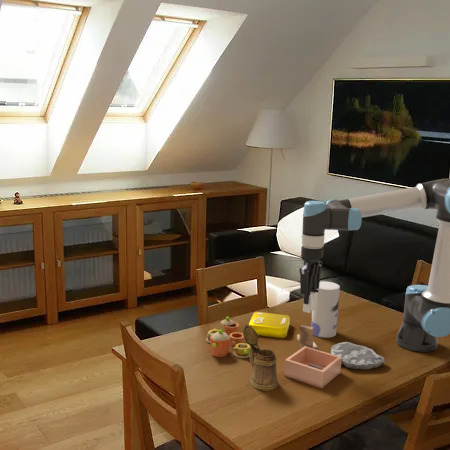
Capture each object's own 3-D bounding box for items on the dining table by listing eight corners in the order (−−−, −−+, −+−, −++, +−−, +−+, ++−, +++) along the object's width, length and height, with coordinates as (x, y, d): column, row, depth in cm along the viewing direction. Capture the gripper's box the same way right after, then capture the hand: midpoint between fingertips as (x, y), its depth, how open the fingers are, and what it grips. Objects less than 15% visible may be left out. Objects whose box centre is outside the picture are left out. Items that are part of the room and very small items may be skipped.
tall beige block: (312, 358, 207) (314, 327, 204) (309, 360, 205) (311, 329, 203) (300, 355, 210) (302, 324, 207) (298, 357, 208) (300, 326, 205)
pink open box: (340, 373, 197) (341, 357, 195) (322, 389, 186) (323, 372, 184) (303, 361, 205) (304, 346, 203) (283, 376, 193) (284, 359, 192)
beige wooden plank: (317, 352, 214) (317, 347, 213) (305, 352, 213) (305, 347, 213) (308, 338, 225) (308, 334, 225) (296, 339, 225) (297, 334, 224)
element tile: (285, 339, 224) (286, 327, 223) (247, 334, 227) (248, 323, 226) (289, 324, 239) (290, 314, 237) (253, 320, 241) (254, 310, 240)
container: (338, 338, 225) (341, 289, 221) (312, 337, 226) (315, 288, 221) (333, 328, 235) (337, 281, 231) (309, 327, 235) (312, 280, 231)
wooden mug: (252, 370, 197) (254, 321, 193) (283, 385, 188) (286, 333, 184) (234, 379, 190) (236, 328, 186) (266, 394, 181) (269, 340, 177)
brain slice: (317, 358, 208) (318, 350, 208) (347, 346, 219) (348, 339, 218) (362, 379, 194) (363, 371, 193) (391, 365, 205) (392, 357, 204)
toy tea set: (255, 360, 206) (256, 334, 204) (212, 362, 203) (213, 336, 200) (239, 330, 231) (240, 308, 228) (200, 332, 227) (201, 309, 225)
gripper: (312, 240, 207) (309, 302, 212) (292, 248, 194) (288, 314, 200) (332, 243, 203) (327, 307, 208) (312, 252, 190) (308, 319, 195)
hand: (308, 310), depth 204 cm, fingers open, 2 cm apart
